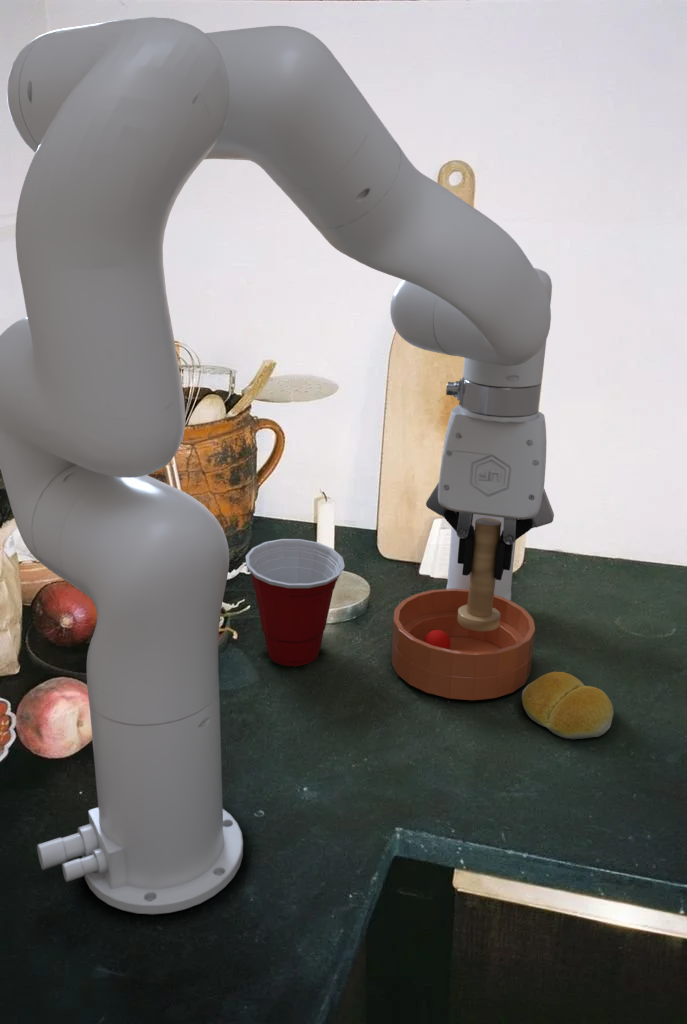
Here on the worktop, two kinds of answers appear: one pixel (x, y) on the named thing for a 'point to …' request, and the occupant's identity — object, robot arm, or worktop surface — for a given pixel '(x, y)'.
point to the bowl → (461, 647)
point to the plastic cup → (293, 595)
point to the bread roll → (567, 706)
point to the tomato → (438, 639)
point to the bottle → (462, 581)
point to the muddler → (482, 579)
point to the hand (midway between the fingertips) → (483, 571)
